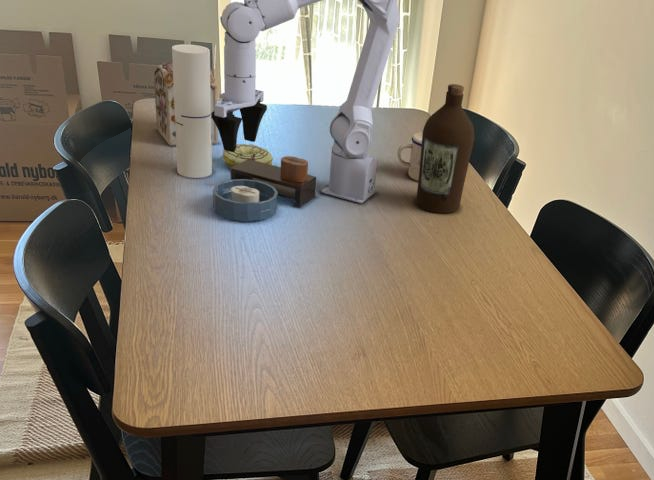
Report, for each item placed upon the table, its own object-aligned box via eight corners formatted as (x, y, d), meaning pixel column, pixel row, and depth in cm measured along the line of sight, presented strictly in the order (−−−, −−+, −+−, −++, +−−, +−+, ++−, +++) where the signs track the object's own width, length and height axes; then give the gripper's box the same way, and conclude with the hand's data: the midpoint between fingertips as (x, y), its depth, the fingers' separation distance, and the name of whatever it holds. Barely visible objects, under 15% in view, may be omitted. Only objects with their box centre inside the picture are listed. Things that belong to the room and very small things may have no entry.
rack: (315, 197, 157) (316, 176, 155) (299, 208, 152) (300, 186, 149) (248, 179, 161) (248, 158, 159) (230, 188, 156) (230, 168, 153)
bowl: (287, 207, 151) (288, 189, 149) (256, 228, 141) (257, 209, 139) (235, 193, 154) (234, 174, 152) (201, 212, 144) (200, 193, 142)
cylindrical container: (203, 180, 158) (200, 55, 144) (171, 173, 158) (165, 49, 145) (217, 169, 164) (215, 48, 150) (186, 163, 164) (181, 42, 150)
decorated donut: (254, 179, 162) (254, 162, 160) (213, 166, 165) (212, 149, 163) (280, 166, 170) (281, 149, 168) (241, 154, 173) (241, 138, 171)
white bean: (262, 208, 148) (263, 190, 146) (252, 214, 145) (252, 196, 143) (238, 201, 150) (238, 183, 148) (227, 207, 146) (227, 189, 144)
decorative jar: (156, 130, 180) (151, 50, 170) (204, 128, 185) (202, 51, 175) (168, 147, 171) (164, 64, 161) (219, 144, 176) (217, 64, 166)
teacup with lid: (442, 171, 180) (449, 122, 173) (448, 185, 172) (456, 135, 166) (392, 167, 178) (398, 118, 171) (397, 181, 170) (403, 130, 164)
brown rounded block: (310, 178, 154) (311, 160, 152) (301, 183, 151) (302, 166, 149) (286, 171, 155) (286, 154, 153) (276, 177, 152) (277, 159, 150)
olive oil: (423, 191, 167) (440, 75, 154) (468, 203, 165) (489, 86, 151) (405, 206, 159) (421, 85, 145) (452, 219, 156) (472, 97, 142)
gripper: (241, 63, 147) (241, 132, 154) (199, 76, 135) (201, 150, 143) (273, 70, 145) (271, 139, 153) (233, 84, 134) (233, 159, 141)
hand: (239, 145), depth 148 cm, fingers open, 7 cm apart
